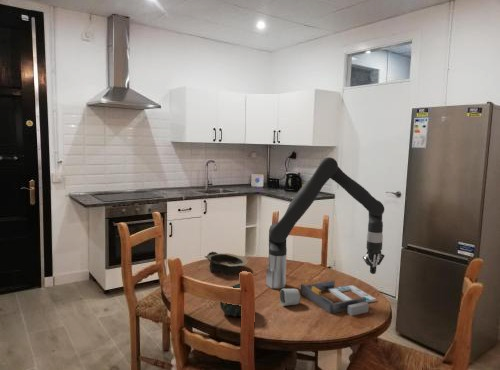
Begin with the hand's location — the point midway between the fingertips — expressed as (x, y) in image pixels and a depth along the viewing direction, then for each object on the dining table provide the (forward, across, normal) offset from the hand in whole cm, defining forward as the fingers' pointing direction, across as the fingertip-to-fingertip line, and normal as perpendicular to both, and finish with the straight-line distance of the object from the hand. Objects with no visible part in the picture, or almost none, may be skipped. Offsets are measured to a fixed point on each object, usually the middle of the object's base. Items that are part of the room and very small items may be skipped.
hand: (372, 273), depth 195 cm
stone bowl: (+9, +56, -58) cm, 81 cm away
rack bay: (+10, +25, 0) cm, 27 cm away
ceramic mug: (+10, +47, -5) cm, 48 cm away
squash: (+9, +73, -4) cm, 74 cm away
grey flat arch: (+11, +13, 0) cm, 17 cm away
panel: (+10, +23, +16) cm, 30 cm away
